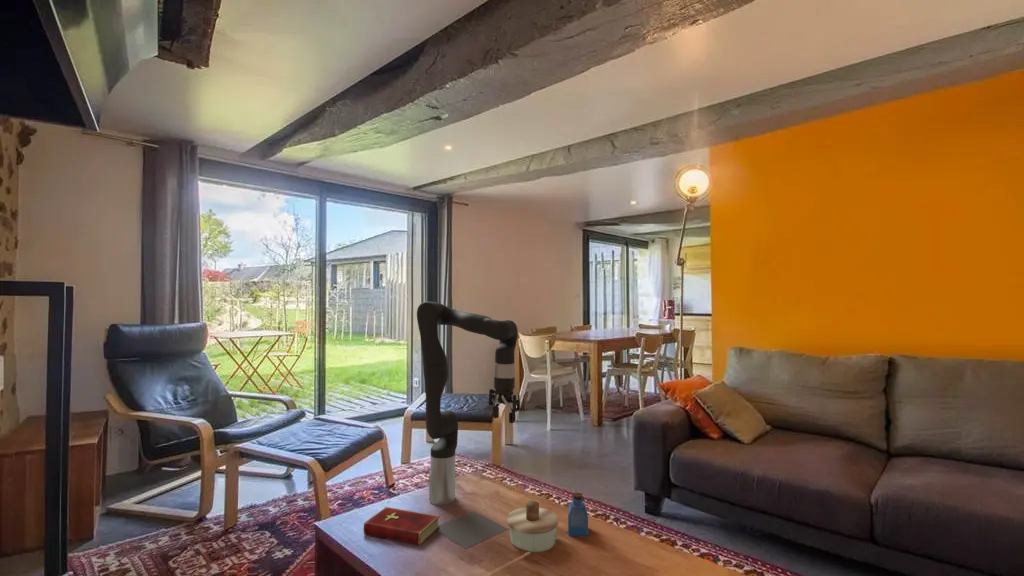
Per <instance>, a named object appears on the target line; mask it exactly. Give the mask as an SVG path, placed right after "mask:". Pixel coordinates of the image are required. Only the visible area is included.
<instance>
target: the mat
mask: <svg viewBox="0 0 1024 576" xmlns="http://www.w3.org/2000/svg"><path fill="white" fill-rule="evenodd" d="M438 527H440V528H439V529H438V530H437V531H436V533H439V534H440V535H442V536H444V538H447V539H448V540H450V541H451V542H453V543H454V544H456V545H458V546H460V547H462V548H463V549H465V550H467V549H469V548H471V547H473V546H475V545H477V544H479V543H482V542H484V541H486V540H489V539H491V538H492V537H495V536H498V534H499V535H500V534H501V533H504V532H506V531H508V530H509V528H508V527H506V526H504V525H502V524H500V523H498V522H496V521H494V520H492V519H490V518H488V517H486V516H484V515H482V514H481V513H479V512H477V511H475V510H473V511H471V512H468V513H466V514H463V515H461V516H459V517H456V518H453V519H450V520H448V521H446V522H443V523H441V524H438Z"/></svg>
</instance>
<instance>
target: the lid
mask: <svg viewBox="0 0 1024 576" xmlns="http://www.w3.org/2000/svg"><path fill="white" fill-rule="evenodd" d="M525 504H526V505H525V507H519V508H516V509H514V510H512V511H511V512H509V514H508V515H507V517H506V519H507V520H506V522H507V525H508V526H509V528H510V527H511V528H512V529H514V530H516V531H518V532H521V533H527V534H541V533H546V532H549V531H551V530H553V529H555V528H556V529H557V527H558V525H559V517H558V515H557V514H556V513H555V512H553V511H551V510H550V509H546V508H543V507H540V503H539V502H538V501H536V500H535V501H534V500H529V501H527V502H526V503H525Z"/></svg>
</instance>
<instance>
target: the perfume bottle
mask: <svg viewBox="0 0 1024 576" xmlns="http://www.w3.org/2000/svg"><path fill="white" fill-rule="evenodd" d="M567 527H568V528H567V530H568V532H567V533H568V537H585V536H588V537H589V515H588V508H587V506H586V504H585V502H584V497H583V493H581V492H574V493H573V494H572V501H571V502H570V504H569V506H568V507H567Z"/></svg>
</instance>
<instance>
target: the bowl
mask: <svg viewBox="0 0 1024 576" xmlns="http://www.w3.org/2000/svg"><path fill="white" fill-rule="evenodd" d="M509 538H510V542H511V544H512V545H513V546H515V547H516V548H518V549H520V550H524V551H527V553H532V554H533V553H544V552H547V551H548V550H550V549H552V548H553V547H554V546H555V545H556V539H557V527H556V528H555V529H553V530H551V531H549V532H546V533H541V534H527V533H521V532H518V531H516V530H514V529H512V528H511V527H510V526H509Z"/></svg>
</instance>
